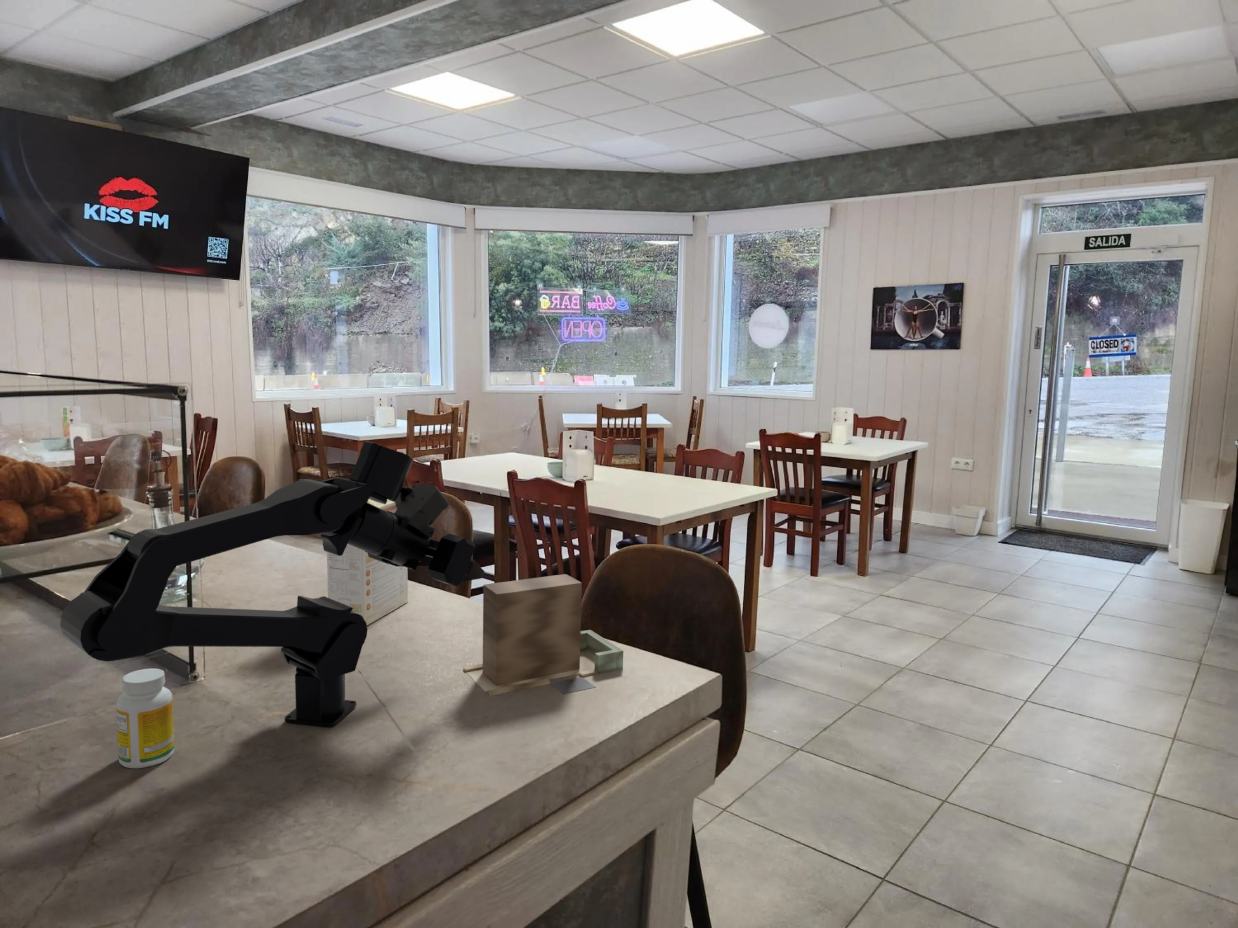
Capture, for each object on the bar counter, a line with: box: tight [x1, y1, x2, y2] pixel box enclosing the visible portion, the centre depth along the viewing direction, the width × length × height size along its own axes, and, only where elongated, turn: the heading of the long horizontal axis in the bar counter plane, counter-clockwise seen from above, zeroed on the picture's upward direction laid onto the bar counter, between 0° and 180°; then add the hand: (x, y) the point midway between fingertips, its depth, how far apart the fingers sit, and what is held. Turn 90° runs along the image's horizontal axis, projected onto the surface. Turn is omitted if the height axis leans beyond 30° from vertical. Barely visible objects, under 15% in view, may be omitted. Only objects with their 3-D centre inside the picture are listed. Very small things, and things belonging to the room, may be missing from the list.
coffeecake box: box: [326, 499, 409, 626], centre depth 139 cm, size 15×7×20 cm, turn 165°
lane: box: [462, 629, 624, 697], centre depth 117 cm, size 21×18×3 cm
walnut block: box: [482, 573, 583, 686], centre depth 116 cm, size 13×5×13 cm, turn 121°
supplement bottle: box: [115, 668, 175, 769], centre depth 89 cm, size 5×5×10 cm
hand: (461, 568), depth 117 cm, fingers open, 9 cm apart
